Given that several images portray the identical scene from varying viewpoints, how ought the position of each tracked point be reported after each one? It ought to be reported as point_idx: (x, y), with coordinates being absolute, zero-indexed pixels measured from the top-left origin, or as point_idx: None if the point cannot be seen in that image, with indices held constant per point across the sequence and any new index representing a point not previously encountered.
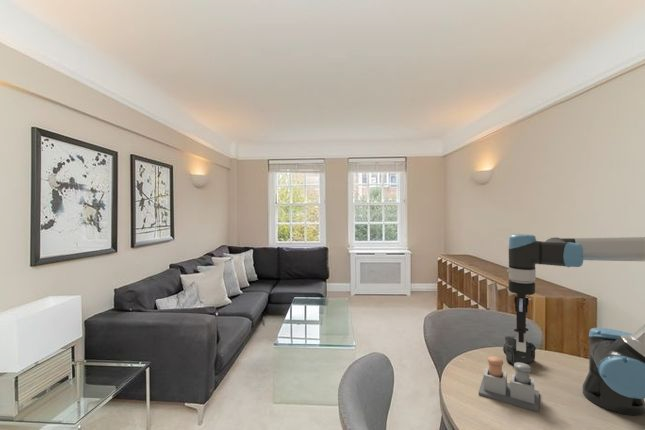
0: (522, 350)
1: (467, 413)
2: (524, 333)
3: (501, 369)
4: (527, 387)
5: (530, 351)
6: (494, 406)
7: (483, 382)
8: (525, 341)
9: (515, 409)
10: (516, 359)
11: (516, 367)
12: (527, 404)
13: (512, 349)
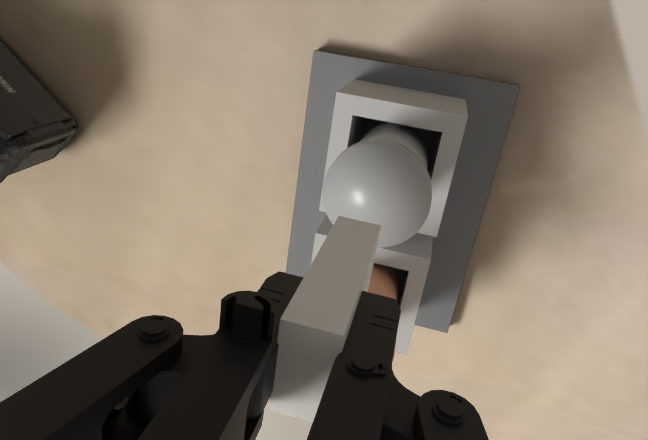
0: (374, 255)
1: (626, 389)
2: (341, 343)
3: (371, 288)
4: (458, 150)
5: None
6: (530, 277)
7: None
8: (362, 278)
9: (526, 191)
10: (49, 122)
11: (408, 237)
12: (484, 134)
13: (3, 154)
